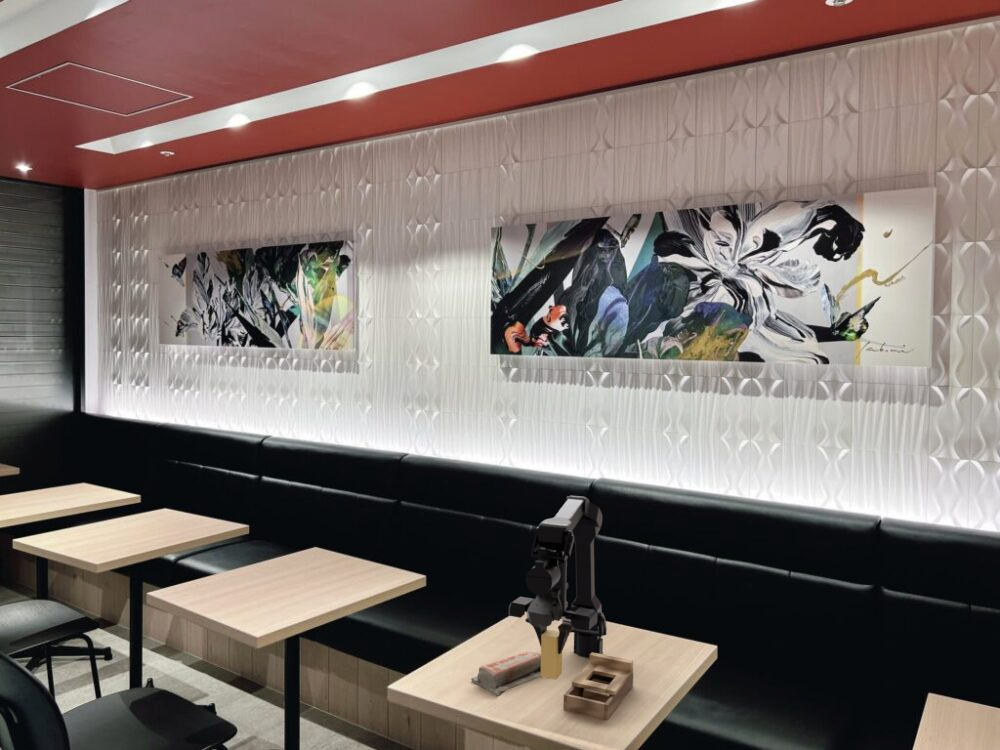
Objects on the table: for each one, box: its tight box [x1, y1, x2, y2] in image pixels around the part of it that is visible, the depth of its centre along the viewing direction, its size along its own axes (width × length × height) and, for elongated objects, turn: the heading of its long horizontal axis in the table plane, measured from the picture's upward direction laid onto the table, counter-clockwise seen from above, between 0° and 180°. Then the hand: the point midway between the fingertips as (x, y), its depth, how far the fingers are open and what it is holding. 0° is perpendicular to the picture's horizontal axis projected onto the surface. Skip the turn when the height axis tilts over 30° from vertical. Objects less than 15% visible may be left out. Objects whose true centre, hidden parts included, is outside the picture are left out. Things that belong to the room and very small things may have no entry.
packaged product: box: [470, 651, 542, 696], centre depth 187 cm, size 18×5×10 cm
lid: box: [571, 652, 634, 695], centre depth 178 cm, size 10×13×3 cm
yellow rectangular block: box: [540, 629, 563, 681], centre depth 171 cm, size 4×4×9 cm
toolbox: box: [562, 672, 634, 721], centre depth 176 cm, size 10×18×4 cm, turn 153°
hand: (551, 651), depth 171 cm, fingers closed on yellow rectangular block, 3 cm apart
